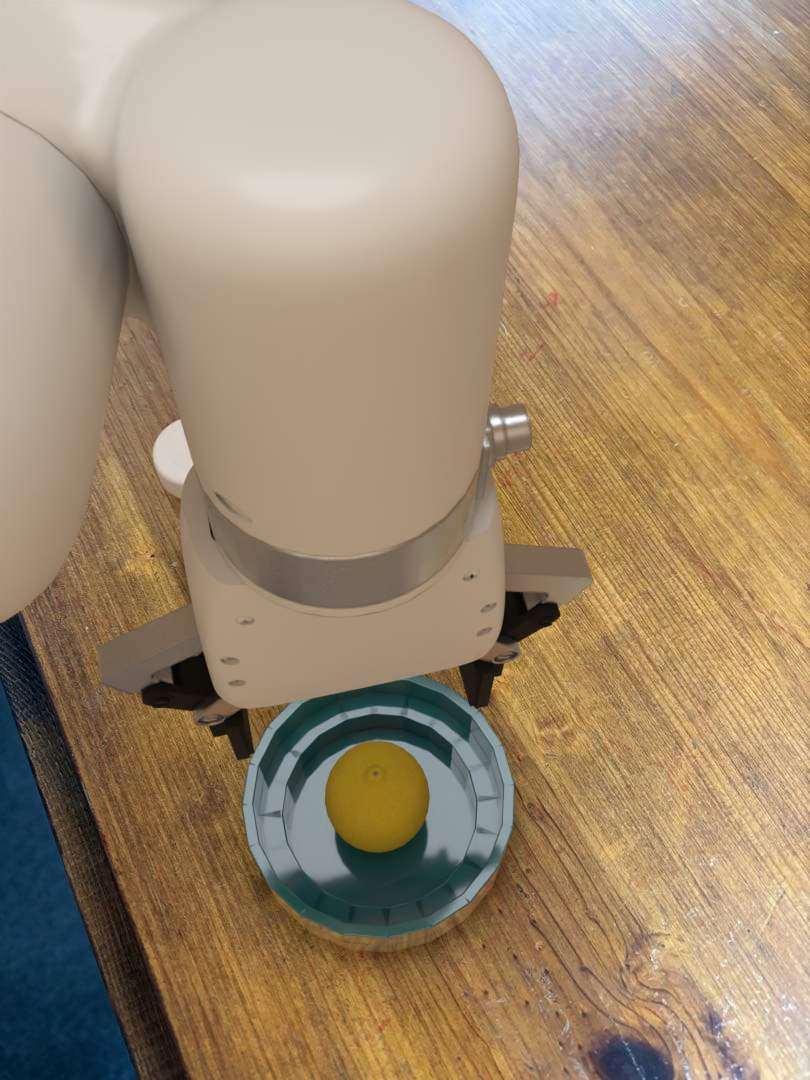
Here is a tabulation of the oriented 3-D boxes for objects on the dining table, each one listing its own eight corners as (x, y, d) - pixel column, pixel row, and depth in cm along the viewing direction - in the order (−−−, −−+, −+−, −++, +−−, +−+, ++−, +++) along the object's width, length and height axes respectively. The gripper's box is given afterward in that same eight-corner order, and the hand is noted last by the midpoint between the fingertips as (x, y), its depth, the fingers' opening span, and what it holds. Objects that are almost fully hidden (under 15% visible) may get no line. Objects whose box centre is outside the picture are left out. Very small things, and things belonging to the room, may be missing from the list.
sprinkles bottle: (182, 580, 68) (133, 462, 56) (220, 525, 70) (180, 400, 58) (243, 609, 67) (207, 495, 55) (280, 552, 69) (252, 431, 57)
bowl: (278, 982, 56) (267, 968, 52) (237, 730, 63) (224, 699, 58) (537, 917, 57) (547, 899, 53) (470, 678, 64) (474, 644, 60)
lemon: (393, 887, 58) (390, 851, 51) (310, 831, 59) (296, 789, 52) (447, 802, 60) (451, 757, 53) (366, 750, 61) (360, 700, 54)
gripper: (599, 315, 32) (531, 579, 47) (9, 417, 30) (136, 660, 45) (688, 527, 28) (584, 739, 43) (24, 660, 26) (156, 836, 41)
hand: (356, 699), depth 44 cm, fingers open, 9 cm apart
